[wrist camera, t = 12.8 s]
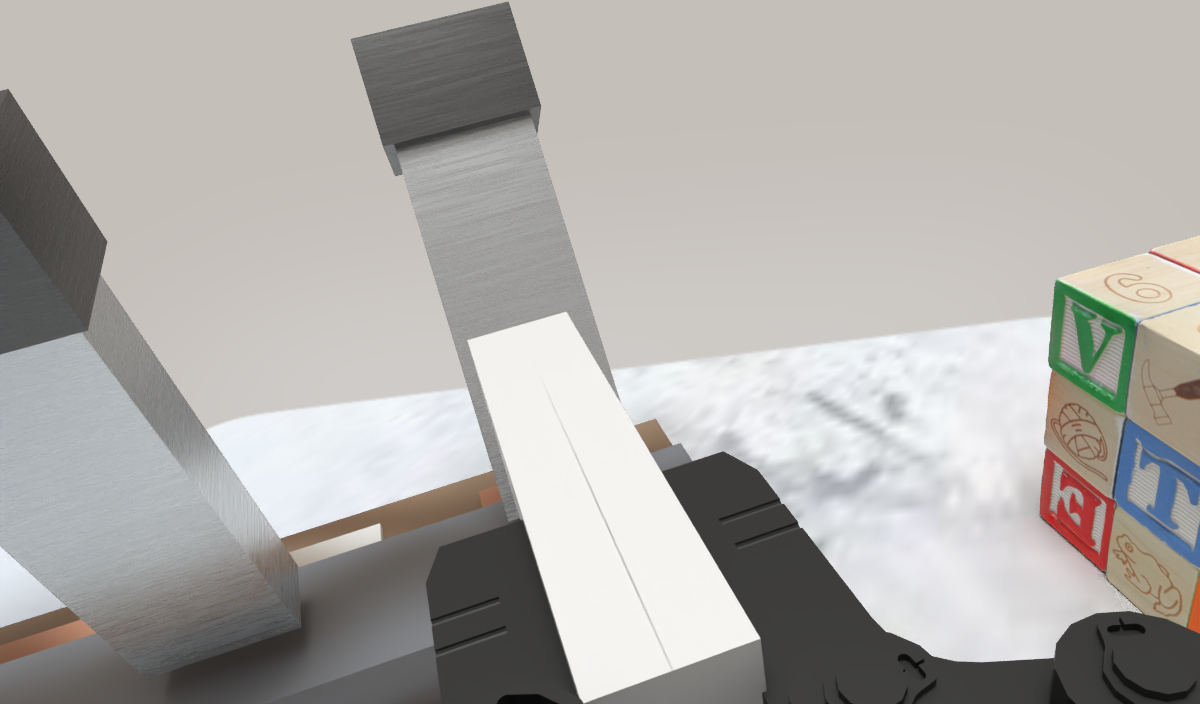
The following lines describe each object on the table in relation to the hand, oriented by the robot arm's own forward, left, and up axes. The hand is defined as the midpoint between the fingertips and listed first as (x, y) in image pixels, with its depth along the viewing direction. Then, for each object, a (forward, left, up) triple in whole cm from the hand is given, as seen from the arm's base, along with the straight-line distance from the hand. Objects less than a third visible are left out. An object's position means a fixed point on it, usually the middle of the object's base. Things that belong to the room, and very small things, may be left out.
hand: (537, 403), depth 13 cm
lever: (-2, +8, -9) cm, 12 cm away
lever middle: (-11, +5, -9) cm, 15 cm away
